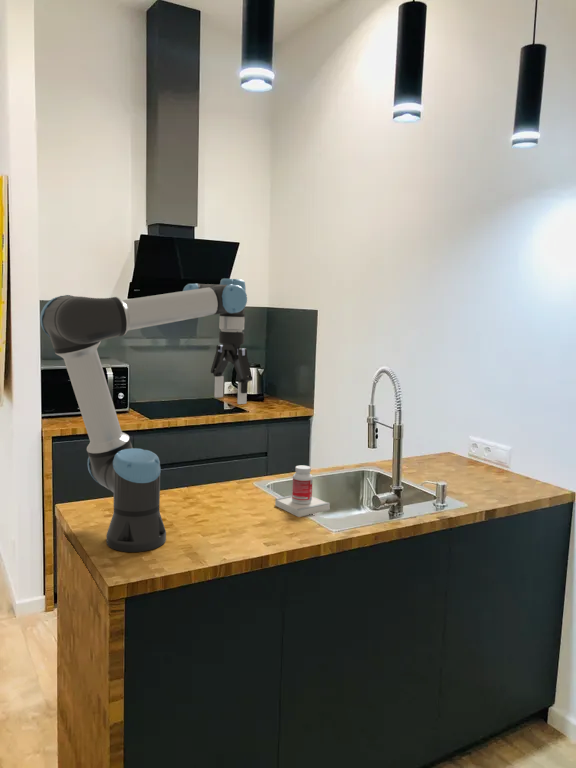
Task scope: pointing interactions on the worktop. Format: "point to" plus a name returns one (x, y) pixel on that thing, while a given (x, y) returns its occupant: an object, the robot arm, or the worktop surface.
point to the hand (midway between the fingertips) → (230, 400)
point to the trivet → (302, 506)
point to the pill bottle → (302, 485)
